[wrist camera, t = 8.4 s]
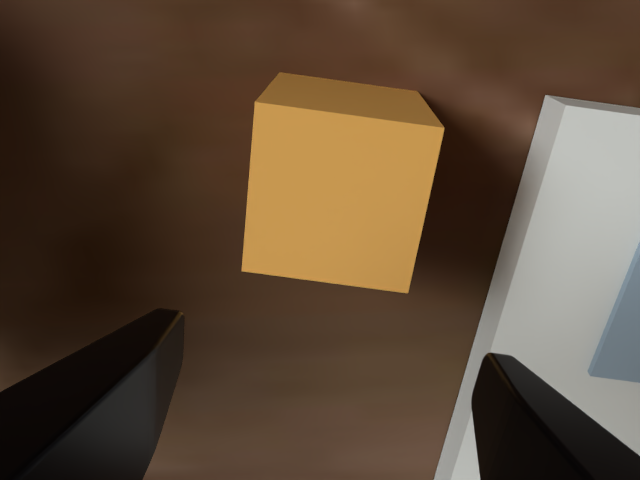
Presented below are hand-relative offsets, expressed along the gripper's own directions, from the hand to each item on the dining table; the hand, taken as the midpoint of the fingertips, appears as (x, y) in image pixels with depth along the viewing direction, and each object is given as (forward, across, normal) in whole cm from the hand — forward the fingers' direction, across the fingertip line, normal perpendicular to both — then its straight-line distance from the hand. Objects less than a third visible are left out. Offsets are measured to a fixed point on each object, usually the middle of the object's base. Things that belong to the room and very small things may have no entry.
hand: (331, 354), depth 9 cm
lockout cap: (+13, 0, 0) cm, 13 cm away
